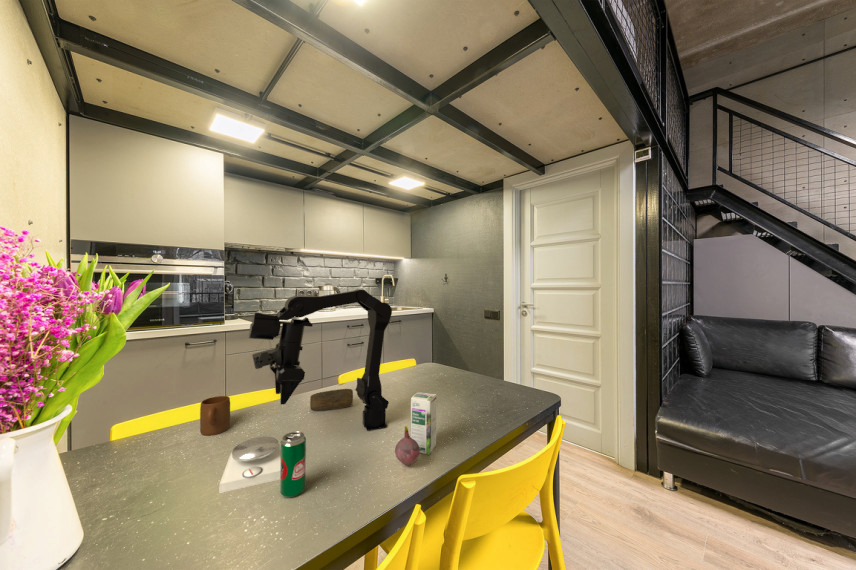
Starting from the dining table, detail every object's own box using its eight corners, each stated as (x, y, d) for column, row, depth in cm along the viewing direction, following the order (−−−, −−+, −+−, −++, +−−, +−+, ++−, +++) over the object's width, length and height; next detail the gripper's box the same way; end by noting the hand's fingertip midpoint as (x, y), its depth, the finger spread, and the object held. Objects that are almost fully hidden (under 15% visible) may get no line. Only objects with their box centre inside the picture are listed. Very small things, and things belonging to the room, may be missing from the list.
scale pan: (279, 440, 82) (279, 433, 82) (277, 459, 73) (277, 452, 73) (235, 448, 78) (235, 441, 78) (228, 469, 69) (228, 461, 69)
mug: (225, 439, 88) (225, 407, 88) (193, 445, 85) (193, 411, 85) (231, 423, 99) (231, 394, 99) (203, 427, 96) (203, 397, 96)
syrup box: (409, 451, 82) (410, 397, 82) (418, 441, 88) (418, 390, 88) (429, 455, 80) (429, 400, 80) (436, 444, 86) (437, 393, 86)
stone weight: (351, 402, 117) (351, 385, 118) (354, 409, 111) (354, 390, 111) (309, 408, 112) (310, 389, 112) (310, 415, 105) (310, 396, 105)
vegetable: (396, 458, 79) (396, 419, 79) (420, 459, 79) (420, 420, 79) (393, 472, 73) (393, 430, 73) (418, 473, 72) (419, 431, 73)
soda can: (296, 500, 63) (296, 442, 63) (274, 497, 64) (275, 440, 64) (310, 485, 68) (310, 431, 68) (290, 482, 69) (290, 429, 69)
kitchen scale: (283, 449, 83) (283, 440, 83) (281, 479, 70) (281, 469, 70) (231, 459, 78) (231, 450, 78) (219, 494, 65) (219, 482, 65)
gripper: (255, 334, 87) (244, 389, 86) (261, 344, 72) (248, 412, 70) (296, 337, 93) (286, 389, 92) (310, 347, 78) (299, 409, 76)
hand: (280, 398), depth 82 cm, fingers open, 9 cm apart
